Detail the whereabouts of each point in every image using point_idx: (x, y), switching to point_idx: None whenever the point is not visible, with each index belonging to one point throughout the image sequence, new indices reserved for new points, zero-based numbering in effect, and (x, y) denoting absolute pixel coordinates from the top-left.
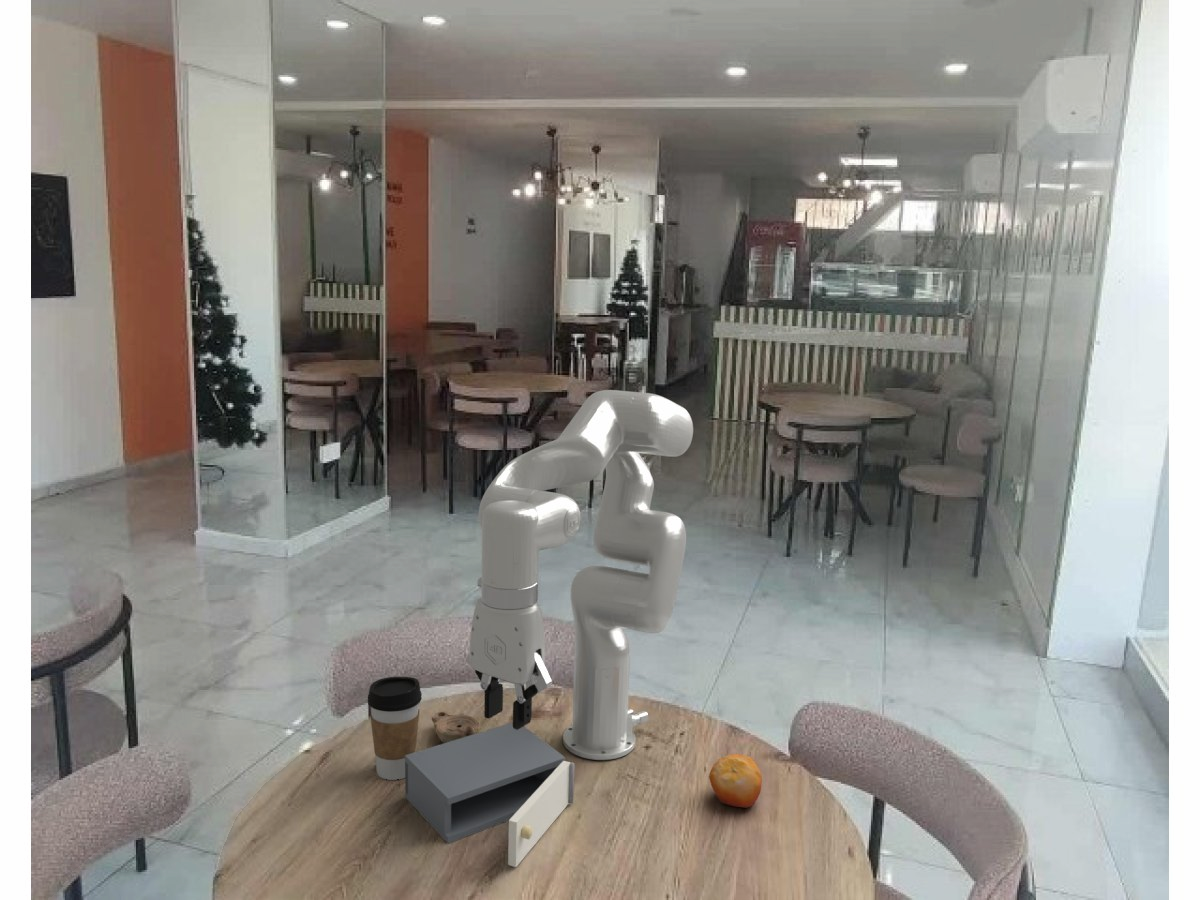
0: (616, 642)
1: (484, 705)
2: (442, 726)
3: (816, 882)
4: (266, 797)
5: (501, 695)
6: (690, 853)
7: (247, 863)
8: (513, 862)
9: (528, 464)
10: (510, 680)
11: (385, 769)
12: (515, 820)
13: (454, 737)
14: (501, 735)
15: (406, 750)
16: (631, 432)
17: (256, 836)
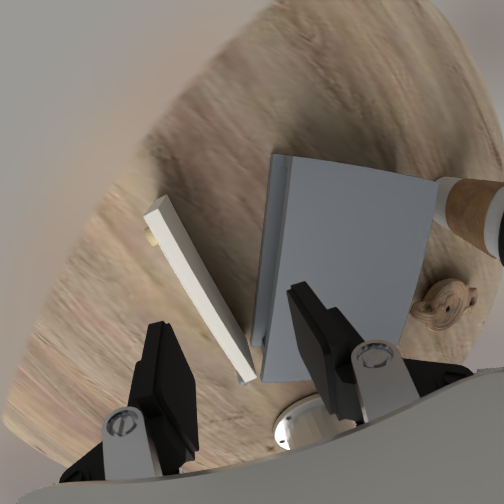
0: None
1: (321, 302)
2: (459, 290)
3: (13, 412)
4: (473, 63)
5: (317, 385)
6: (78, 379)
7: None
8: (158, 199)
9: None
10: (88, 495)
11: (447, 180)
12: (150, 218)
13: (437, 291)
14: (379, 336)
15: (452, 209)
16: None
17: (422, 9)
